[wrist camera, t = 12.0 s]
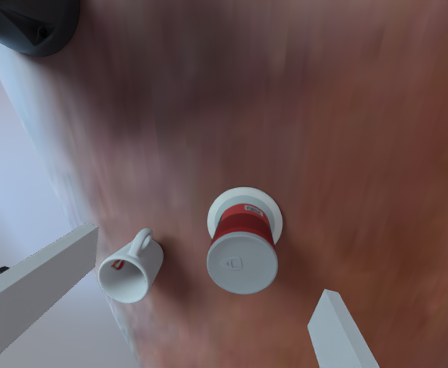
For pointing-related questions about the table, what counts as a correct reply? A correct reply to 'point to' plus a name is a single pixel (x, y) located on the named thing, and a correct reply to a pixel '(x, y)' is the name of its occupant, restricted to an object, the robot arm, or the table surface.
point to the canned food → (243, 251)
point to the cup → (131, 269)
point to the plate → (248, 197)
